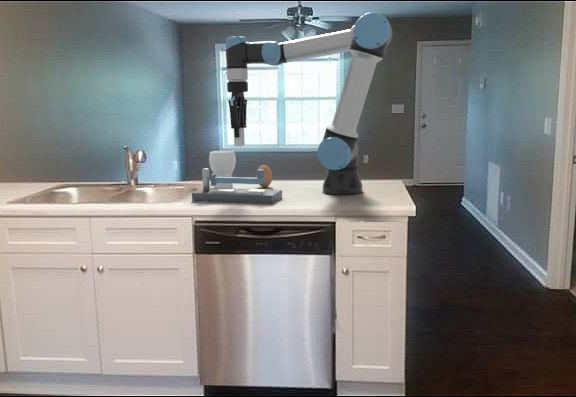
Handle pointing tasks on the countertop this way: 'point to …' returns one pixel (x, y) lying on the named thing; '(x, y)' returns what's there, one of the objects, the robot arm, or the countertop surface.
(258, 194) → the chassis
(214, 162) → the cup
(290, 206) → the countertop surface
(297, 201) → the countertop surface
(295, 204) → the countertop surface
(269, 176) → the egg
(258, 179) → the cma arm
